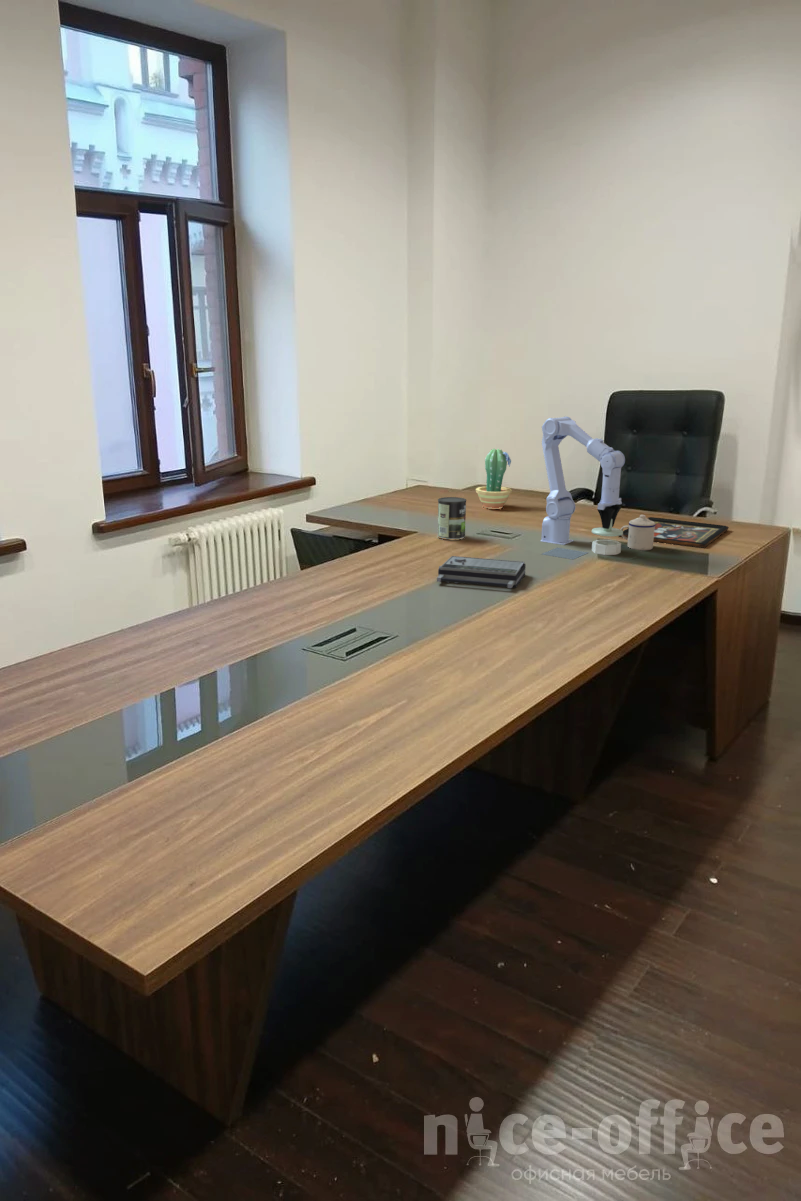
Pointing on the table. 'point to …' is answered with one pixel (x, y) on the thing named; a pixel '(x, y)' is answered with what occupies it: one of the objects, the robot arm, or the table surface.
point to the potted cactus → (495, 480)
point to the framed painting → (684, 532)
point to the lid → (607, 531)
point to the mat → (565, 553)
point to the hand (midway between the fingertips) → (607, 527)
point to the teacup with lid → (640, 533)
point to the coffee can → (451, 517)
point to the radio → (482, 571)
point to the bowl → (606, 547)
